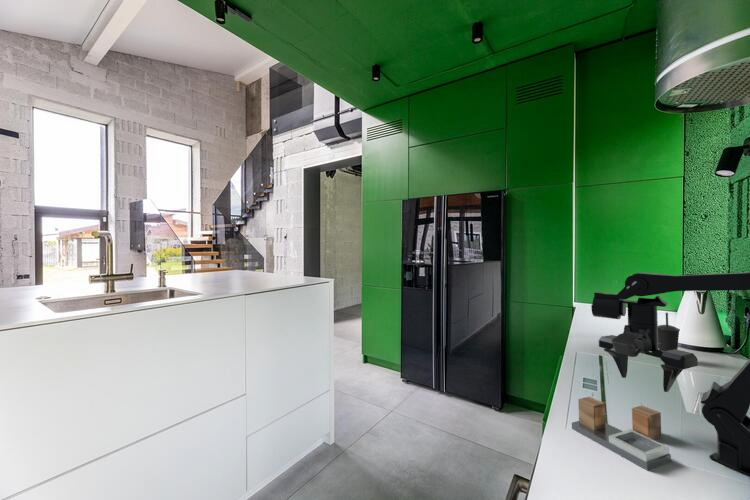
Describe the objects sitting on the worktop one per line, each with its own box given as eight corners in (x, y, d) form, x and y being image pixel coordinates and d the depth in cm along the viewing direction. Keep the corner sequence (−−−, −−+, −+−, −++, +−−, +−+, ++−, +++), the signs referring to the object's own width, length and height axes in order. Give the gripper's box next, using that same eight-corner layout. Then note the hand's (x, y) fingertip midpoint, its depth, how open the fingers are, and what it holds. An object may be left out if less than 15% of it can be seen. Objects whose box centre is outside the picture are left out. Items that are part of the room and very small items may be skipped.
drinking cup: (651, 358, 133) (650, 311, 133) (663, 356, 135) (662, 310, 136) (673, 364, 126) (671, 315, 126) (685, 362, 128) (684, 313, 128)
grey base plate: (593, 422, 84) (593, 411, 84) (671, 461, 68) (670, 447, 68) (571, 428, 81) (571, 416, 81) (647, 470, 65) (646, 456, 65)
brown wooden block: (589, 419, 83) (589, 396, 83) (606, 427, 79) (605, 403, 79) (579, 422, 81) (578, 399, 82) (595, 430, 77) (594, 406, 78)
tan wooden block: (642, 428, 81) (642, 405, 81) (661, 436, 77) (660, 412, 77) (631, 431, 79) (631, 408, 79) (650, 440, 76) (649, 415, 76)
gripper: (583, 317, 85) (585, 375, 84) (668, 334, 67) (670, 406, 67) (611, 314, 89) (613, 369, 88) (698, 329, 71) (700, 398, 71)
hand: (644, 384), depth 78 cm, fingers open, 9 cm apart
